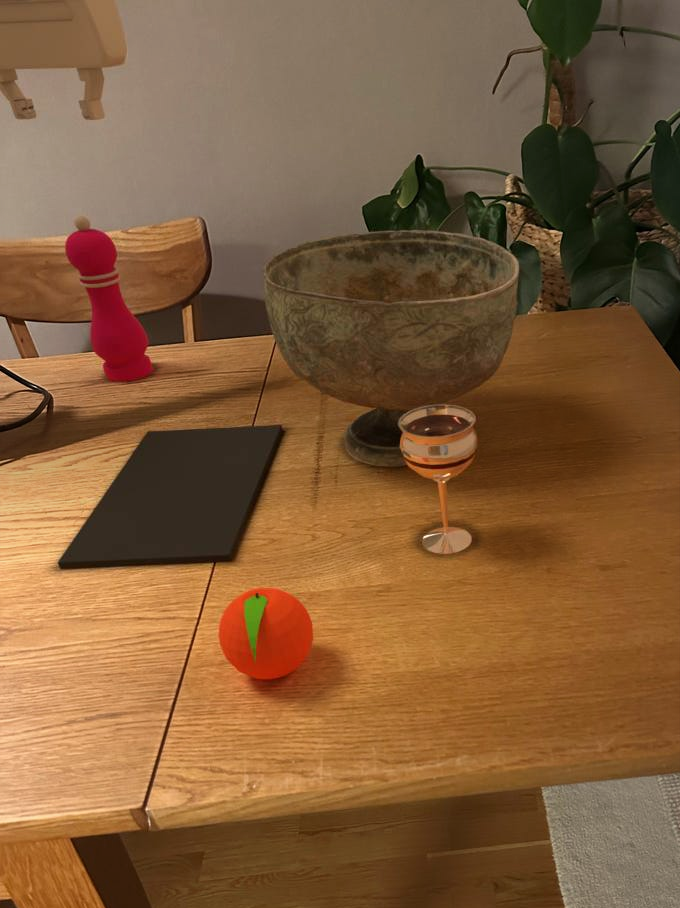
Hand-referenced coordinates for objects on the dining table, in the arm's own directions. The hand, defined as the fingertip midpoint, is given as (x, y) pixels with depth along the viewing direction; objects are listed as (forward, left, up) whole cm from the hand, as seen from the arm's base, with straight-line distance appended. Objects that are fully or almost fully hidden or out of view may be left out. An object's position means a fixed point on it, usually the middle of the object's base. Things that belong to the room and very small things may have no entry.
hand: (60, 119), depth 91 cm
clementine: (+28, -58, -31) cm, 72 cm away
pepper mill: (-4, +7, -31) cm, 32 cm away
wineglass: (+41, -40, -31) cm, 65 cm away
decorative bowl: (+36, -18, -31) cm, 51 cm away
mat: (+13, -28, -31) cm, 44 cm away
